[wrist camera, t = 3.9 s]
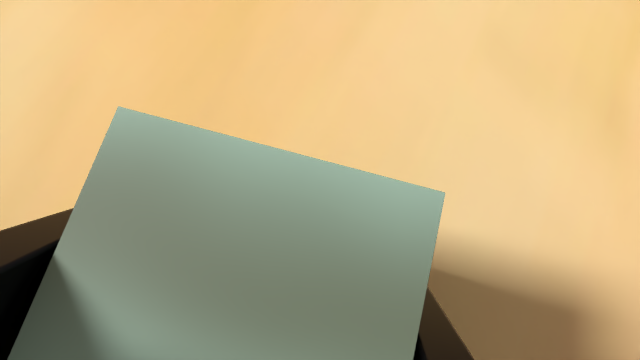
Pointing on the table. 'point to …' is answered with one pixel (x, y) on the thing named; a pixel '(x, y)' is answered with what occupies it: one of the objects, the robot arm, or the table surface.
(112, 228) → the sage green block
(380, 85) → the table surface
